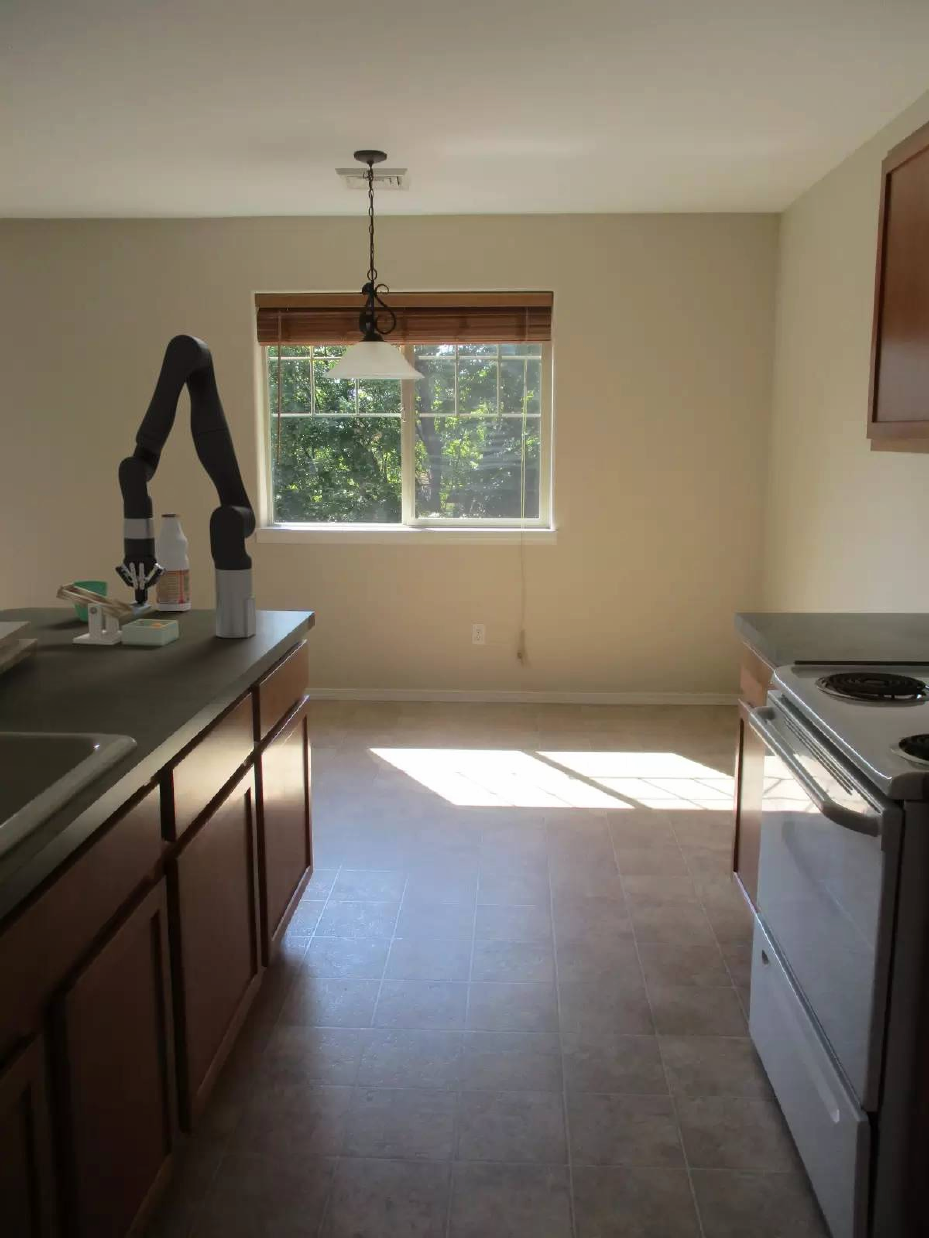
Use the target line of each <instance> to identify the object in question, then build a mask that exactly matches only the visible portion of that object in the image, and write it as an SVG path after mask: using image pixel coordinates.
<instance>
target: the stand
mask: <svg viewBox="0 0 929 1238" xmlns="http://www.w3.org/2000/svg"><path fill="white" fill-rule="evenodd" d="M111 599H114V600H117V601H119V600H118V598H116V597H115V598H113V597H112V598H111ZM104 615H105V614H104ZM88 620H89V621H88V633H85V634H83V635H80V636H77V637H74V638H73V639H72V642H73V644H85V645H87V644H88V645H107V646H108V645H109V646H111V645H112V646H113V645H116V644H119V643H120V642H122V630H120V626H119V625H120V623H119V620H120V619H116V618H113V617H111V616H108V615H105V629H103V618H102V612H101V604H90V603H89V604H88Z"/></svg>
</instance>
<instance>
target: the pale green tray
mask: <svg viewBox="0 0 929 1238" xmlns="http://www.w3.org/2000/svg"><path fill="white" fill-rule="evenodd" d="M154 623H160V624H162V625H163V626H161V627H150V626H151V625H152V624H154ZM121 631H122V641H121V642H122V643H121V644H122V645H125V646H127V645H128V646H147V647H150V646H151V647H164V646H165V645H167V644H170V643H171V642H174V641H176V640H178V639H179V636H180V635H179V620H170V619H152V618H151V619H150V618H139V619H136V620H134V621H132V622H131V621H130V622H128V623H126V624H124V625H121Z"/></svg>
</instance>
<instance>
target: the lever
mask: <svg viewBox="0 0 929 1238" xmlns="http://www.w3.org/2000/svg"><path fill="white" fill-rule="evenodd" d="M56 598H57V599H60V600H63V601H66V602H68V603H71V604H73V605H74V604H76V605H79V606H82V607H85V608H88V604H89V603H90V604H101V612H102V614H103V615H108V616H111V617H113V618H116V619H119V620H121V619H124V618H126V617H130V616H135V615H138V614H140V613H143V612H146V611H149V610H151V609H152V606H153V605H152V604H149V603H147V602H146V603H144V604H138V603H137V601H136V600H134V601H131V602H128V603H125V602H122V601H119V600H118V601H117V600H114V599H111V598H110V597H108V596H106V597H105V596H102V595H99V594H97V593H94V592H91V591H88V590H85V589H82V588H79V587H77V586H74V583H73V582H69V583H65V584H61V585H60V588H58V589H57V593H56Z"/></svg>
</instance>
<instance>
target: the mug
mask: <svg viewBox="0 0 929 1238" xmlns="http://www.w3.org/2000/svg"><path fill="white" fill-rule="evenodd" d="M72 583H74V586H77V587H79V588H82V589H85V590H88V591H91V592H94V593H97V594H99V595H102V596H105V597H107V594H108V588H109V584H108V582H106V581H103V580H101V581H99V580H86V581H85V580H84V581H83V580H82V581H75V582H72ZM73 605H74V608H75V611H76V613H77V615H78V617H79V620H80V621H81V622H89V620H88V608H85V607H82V606H79V605H76V604H74V603H73Z"/></svg>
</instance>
